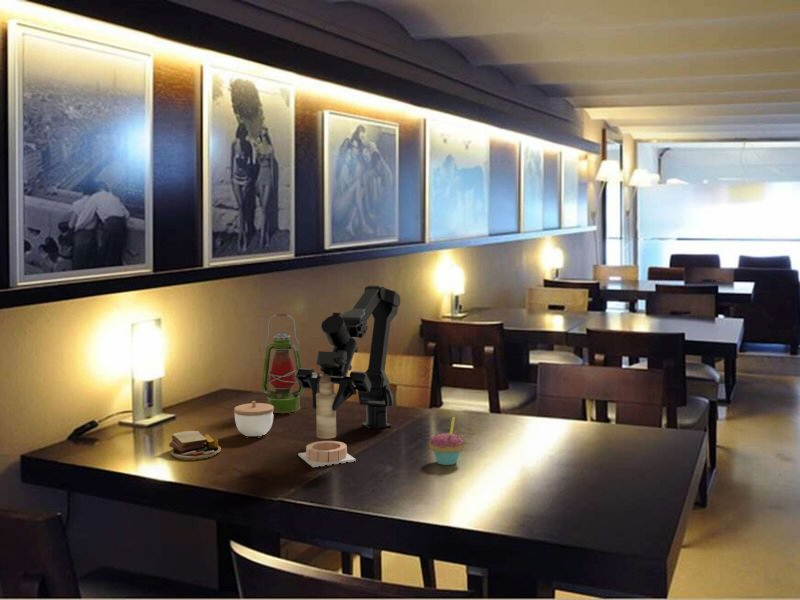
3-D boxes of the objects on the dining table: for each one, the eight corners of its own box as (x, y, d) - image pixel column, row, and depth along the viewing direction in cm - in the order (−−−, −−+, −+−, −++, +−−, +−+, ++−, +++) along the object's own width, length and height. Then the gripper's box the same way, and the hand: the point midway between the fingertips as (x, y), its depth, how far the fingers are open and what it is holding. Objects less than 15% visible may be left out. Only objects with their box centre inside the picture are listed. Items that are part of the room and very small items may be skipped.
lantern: (256, 413, 255) (253, 315, 252) (267, 405, 266) (265, 311, 263) (299, 414, 253) (298, 316, 250) (310, 406, 263) (308, 312, 260)
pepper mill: (316, 433, 209) (315, 372, 207) (335, 433, 209) (334, 372, 208) (317, 439, 204) (315, 376, 202) (336, 438, 205) (335, 375, 203)
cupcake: (467, 459, 206) (467, 411, 205) (458, 469, 198) (458, 419, 197) (434, 456, 209) (434, 408, 208) (424, 465, 201) (424, 416, 200)
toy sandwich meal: (178, 464, 204) (177, 445, 204) (163, 451, 216) (163, 433, 215) (227, 456, 210) (227, 438, 210) (211, 444, 222) (210, 426, 221)
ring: (298, 455, 210) (298, 443, 210) (339, 450, 215) (339, 438, 214) (312, 467, 200) (312, 454, 200) (355, 461, 205) (355, 449, 204)
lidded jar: (282, 434, 230) (281, 401, 229) (250, 442, 223) (249, 407, 222) (258, 428, 238) (257, 395, 237) (226, 435, 230) (225, 401, 229)
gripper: (297, 336, 211) (278, 388, 202) (366, 339, 205) (349, 393, 196) (312, 361, 219) (293, 412, 210) (378, 365, 213) (362, 418, 204)
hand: (323, 409), depth 205 cm, fingers closed on pepper mill, 5 cm apart
